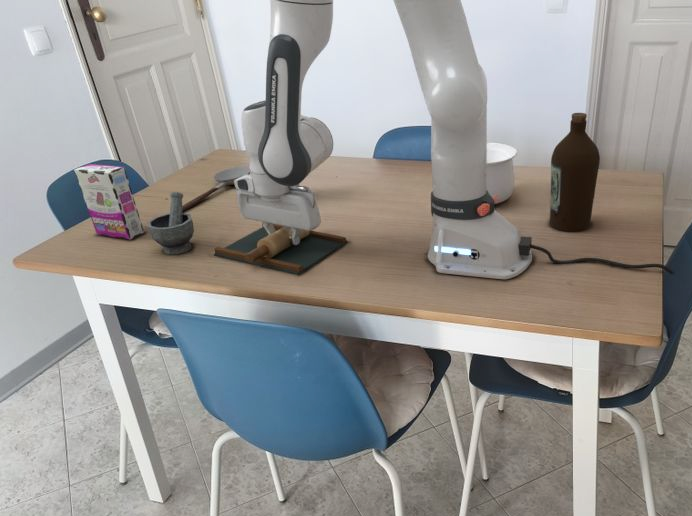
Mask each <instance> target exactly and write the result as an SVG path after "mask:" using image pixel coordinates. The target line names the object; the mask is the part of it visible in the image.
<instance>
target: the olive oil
mask: <svg viewBox="0 0 692 516" xmlns="http://www.w3.org/2000/svg"><path fill="white" fill-rule="evenodd" d="M587 115H588V114H587V113H585V112H574V113H572V114H571V120H570V127H569V129H570V130H569V132H568V133H567V134H566V135H565V136H564V137H563V139H562V140H560V141H559V142H558V143H557V145H556V146H555V147H554V149H553V151H552V154H551V159H550V203H549V204H550V205H549V209H550V210H549V224H550V226H551V227H553V228H554V229H555V230H559V231H563V232H580V231H584V230H586V229H588V228H589V227H590V226H591V223H592V222H591V221H592V214H593V206H594V200H595V193H596V186H597V181H598V174H599V169H600V164H601V163H600V162H601V157H600V151H599V148H598V146H597V144H596V143H595V142H594V141H593V139H591V137H590V136H589V134H588V133H587V131H586V130H587V117H588V116H587Z"/></svg>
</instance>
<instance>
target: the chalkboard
mask: <svg viewBox="0 0 692 516" xmlns="http://www.w3.org/2000/svg"><path fill="white" fill-rule="evenodd" d="M272 225H273V226H274V228H275V230H276V231H277V230H279V229H281V228H282V227H284V226H282V225H277V224H272ZM261 226H262V227H260V228H258V229H256V230H255V231H253V232H251V233H250V234H247V235H246V236H243V237H242V238H240V239H238V240H236V241H234V242H232V243H231V244H229V245H227V246H225V247H221V246H217V247H215V248H213V249H214V253H213V256H215V257H219V258H223V259H228V260H233V261H237V262H240V263H245V264H250V265H254V266H258V267H263V268H267V269H271V270H275V271H281V272H284V273H289V274H293V275H296V276H299V275H301V274H302V273H304V272H305V271H307V270H309V269H310V268H311V267H313V266H315V265H316V264H318V263H319V262H320V261H322V260H323V259H325V258H327V257H328V256H330V255H332V253H334V252H336V251H337V250H339V249H340V248H342V247H343V246H345V245H346V244H347V243H348V240H347V237H346V236H341V235H338V234H337V235H336V234H331V233H325V232H320V231H315V230H311V231H310V233H309V235H308V236H307V237H305V238H303V239H302V240H300V243H299V244H297V245H292V246H290V247H288V248H287V249H285V250H283V251H282V252H280V253H278V254H277V255H275V256H273V257H272V258H266V257H262V258H260V259H258V260H256V261H255V262H253V263H249V262H248V261H247V260H246V257H245V255H246V254H247V253H249V252H251V251H252V250H254V249H256V248H257V243H258V241H259V240H261V239H263V238H265V237H266V236H268V235H269V233H268V232H267V231H266V229H265V228H264V227H263V224H262V223H261Z"/></svg>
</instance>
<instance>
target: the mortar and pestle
mask: <svg viewBox="0 0 692 516" xmlns="http://www.w3.org/2000/svg"><path fill="white" fill-rule="evenodd" d="M169 196H170V198H171V199H170V207H169V208H170V210H169V213H165V214H162V215H159V216H155V217H153V218H152V219H150V220H149V221H147V229H148V232H149V234H150V236H151V238H152V239H153V241H155V242H156V243H157V244H158V245H160V246H162V249H163V253H164V254H166V255H180V254H182V253H185V252H188V251H189V250H190V249H192V245H191V242H190V241H191V239H192V238H193V236H194V232H195V226H194V221H193V218H192V215H191V214H189V213H185V212H182V206H183V198H184V193H182V192H179V191H172V192H170V195H169Z"/></svg>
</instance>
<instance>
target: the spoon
mask: <svg viewBox="0 0 692 516" xmlns="http://www.w3.org/2000/svg"><path fill="white" fill-rule="evenodd" d="M249 167H250V166H237V167H231V168H227V169H224V170H222V171H219V172H217V173H215V174H214V175H213V176H212V178H213V180H214V181H215V182H218V184H217V185H216V186H214V187H212V188H211V189H209V190H208V191H205V192H203V193H202V194H200V195H198V196H196V197H194V198H193V199H191V200H190V201H188V202H187V203H186V202H185V204H182V213H184V212H185V211H186V210H189V209H190V208H192V207H194V206H196V205H197V204H199V203H201V202H203V201H204V200H205V199H207V198H208V197H209V196H210V195H212V194H213V193H215V192H217V191H218V190H221V189H223V188H224V187H225V186H232V185H233V186H235V184H234V181H235V180H236V179H238V178H239V177H242V176H244V175H246V174H248V173H250V168H249Z"/></svg>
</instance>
